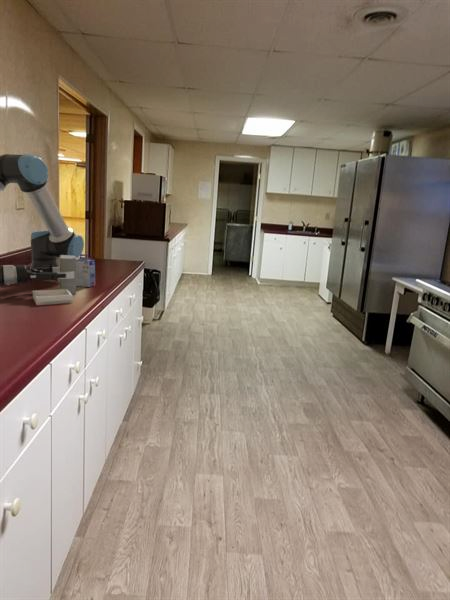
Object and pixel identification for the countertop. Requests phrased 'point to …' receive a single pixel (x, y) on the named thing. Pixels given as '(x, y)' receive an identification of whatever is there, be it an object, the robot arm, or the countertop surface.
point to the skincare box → (68, 265)
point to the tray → (52, 296)
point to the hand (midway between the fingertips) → (71, 272)
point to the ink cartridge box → (85, 272)
